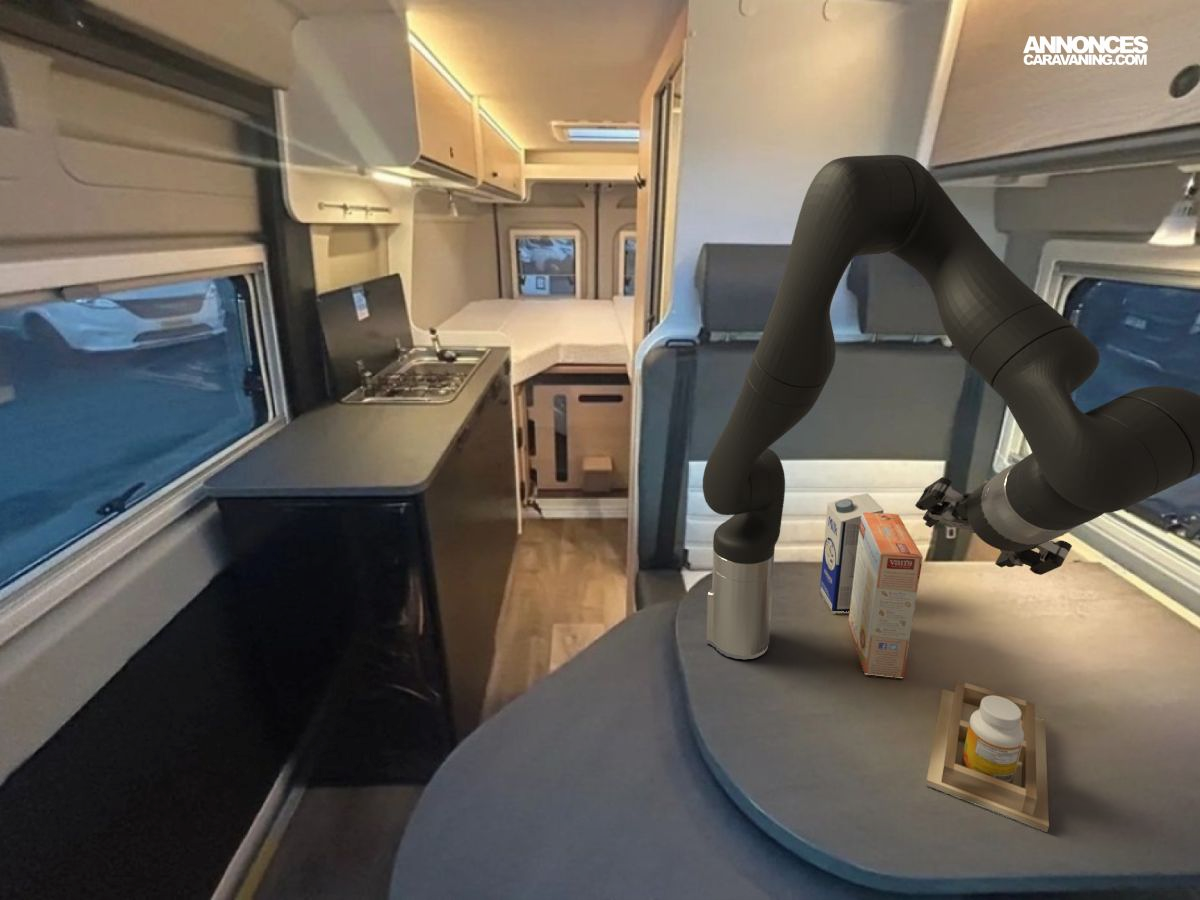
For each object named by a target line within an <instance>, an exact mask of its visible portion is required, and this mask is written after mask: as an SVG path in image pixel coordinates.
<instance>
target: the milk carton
mask: <svg viewBox="0 0 1200 900" xmlns="http://www.w3.org/2000/svg"><path fill="white" fill-rule="evenodd" d="M884 510H885V509H884V508H883V507H882V506H881V505H880V504H879V503H878V502H877V501H876V500H875V499H874V498H873V497H872V496H871V495H870V494H869V493H862V494H855V495H852V496H849V497H845V498H842V499H838V500H835V501H832V502H831V501H830V502H828V503H827V507H826V520H825V529H824V540H823V541H824V542H823V551H822V553H823V554H822V561H821V562H822V564H821V573H820V574H821V575H820V585H819V591H820V590H821V592H822V594H823V596H824V597H825V599H826V601H827V603H828V604H829V606H830V608H831V609H832V611H844V612H846V611H847V612H848V611H849V612H850V603H851V595H852V587H853V579H854V570H855V562H856V554H857V545H858V536H859V527H860V518H861V513H884Z"/></svg>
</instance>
